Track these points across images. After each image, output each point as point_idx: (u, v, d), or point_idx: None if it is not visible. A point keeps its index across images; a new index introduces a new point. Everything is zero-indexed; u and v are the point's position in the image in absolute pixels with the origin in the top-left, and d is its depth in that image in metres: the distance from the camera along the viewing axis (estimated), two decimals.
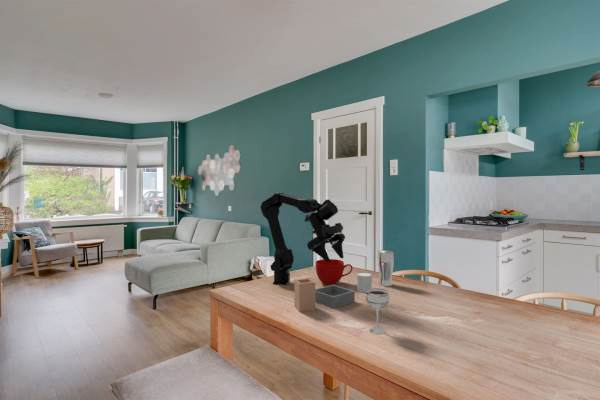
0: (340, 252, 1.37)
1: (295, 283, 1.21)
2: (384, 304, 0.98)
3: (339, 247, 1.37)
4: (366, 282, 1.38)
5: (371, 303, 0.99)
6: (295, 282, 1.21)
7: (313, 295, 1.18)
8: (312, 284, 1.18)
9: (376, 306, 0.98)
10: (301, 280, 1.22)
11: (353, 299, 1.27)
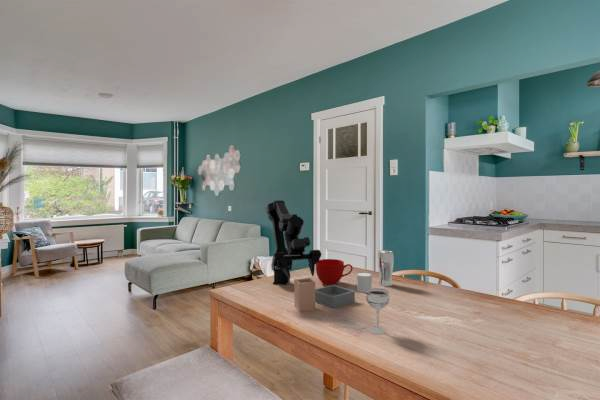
0: (311, 269, 1.27)
1: (295, 283, 1.21)
2: (384, 304, 0.98)
3: (311, 264, 1.28)
4: (366, 282, 1.38)
5: (371, 303, 0.99)
6: (295, 282, 1.21)
7: (313, 295, 1.18)
8: (312, 284, 1.18)
9: (376, 306, 0.98)
10: (301, 280, 1.22)
11: (353, 299, 1.27)
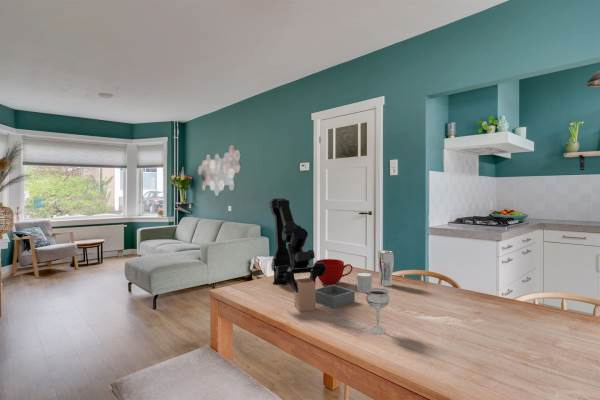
0: None
1: None
2: (384, 304, 0.98)
3: (312, 278, 1.23)
4: (366, 282, 1.38)
5: (371, 303, 0.99)
6: None
7: (313, 295, 1.18)
8: (312, 284, 1.18)
9: (376, 306, 0.98)
10: (301, 280, 1.22)
11: (353, 299, 1.27)
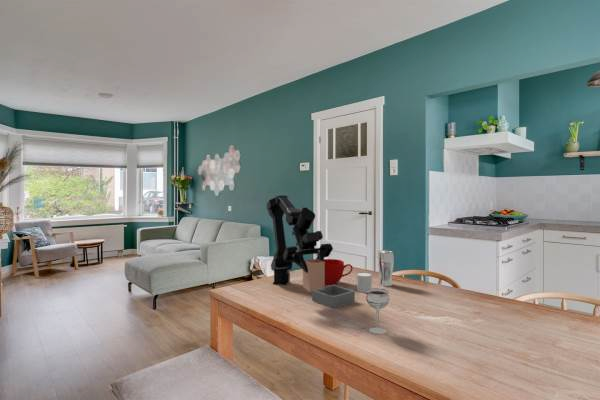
0: None
1: None
2: (384, 304, 0.98)
3: (320, 258, 1.24)
4: (366, 282, 1.38)
5: (371, 303, 0.99)
6: None
7: (322, 274, 1.20)
8: (322, 264, 1.20)
9: (376, 306, 0.98)
10: (309, 261, 1.24)
11: (353, 299, 1.27)
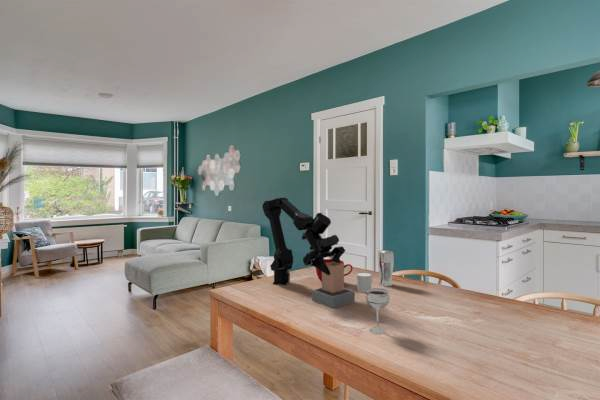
0: None
1: None
2: (384, 304, 0.98)
3: (336, 261, 1.31)
4: (366, 282, 1.38)
5: (371, 303, 0.99)
6: None
7: (342, 276, 1.27)
8: (342, 266, 1.27)
9: (376, 306, 0.98)
10: (327, 264, 1.29)
11: (353, 299, 1.27)
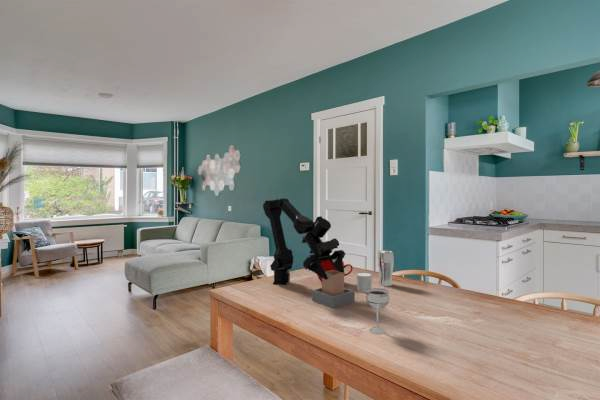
0: (341, 269, 1.31)
1: None
2: (384, 304, 0.98)
3: (339, 264, 1.32)
4: (366, 282, 1.38)
5: (371, 303, 0.99)
6: None
7: (343, 285, 1.27)
8: (342, 275, 1.27)
9: (376, 306, 0.98)
10: (328, 272, 1.29)
11: (353, 299, 1.27)
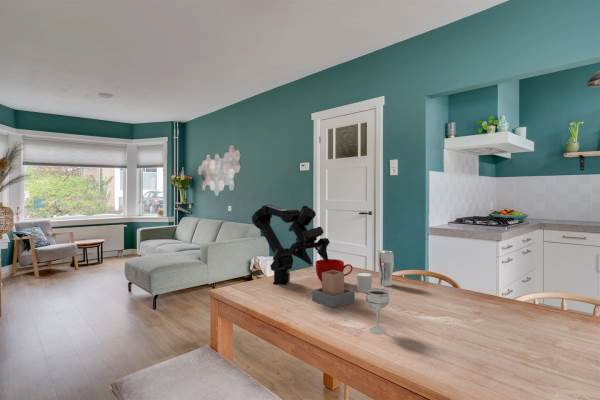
0: (325, 255, 1.38)
1: (324, 275, 1.27)
2: (384, 304, 0.98)
3: (323, 251, 1.39)
4: (366, 282, 1.38)
5: (371, 303, 0.99)
6: (324, 275, 1.27)
7: (343, 285, 1.27)
8: (342, 275, 1.27)
9: (376, 306, 0.98)
10: (328, 272, 1.29)
11: (353, 299, 1.27)
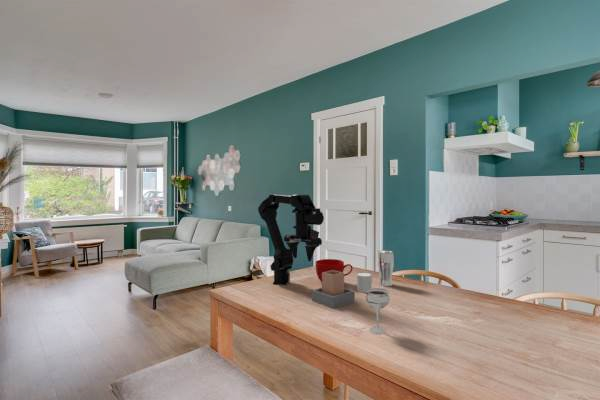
0: (296, 252, 1.47)
1: (324, 275, 1.27)
2: (384, 304, 0.98)
3: (296, 247, 1.47)
4: (366, 282, 1.38)
5: (371, 303, 0.99)
6: (324, 275, 1.27)
7: (343, 285, 1.27)
8: (342, 275, 1.27)
9: (376, 306, 0.98)
10: (328, 272, 1.29)
11: (353, 299, 1.27)
